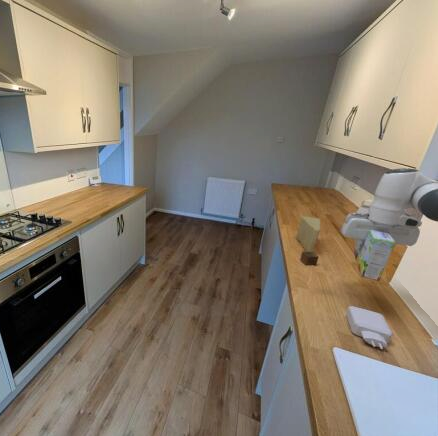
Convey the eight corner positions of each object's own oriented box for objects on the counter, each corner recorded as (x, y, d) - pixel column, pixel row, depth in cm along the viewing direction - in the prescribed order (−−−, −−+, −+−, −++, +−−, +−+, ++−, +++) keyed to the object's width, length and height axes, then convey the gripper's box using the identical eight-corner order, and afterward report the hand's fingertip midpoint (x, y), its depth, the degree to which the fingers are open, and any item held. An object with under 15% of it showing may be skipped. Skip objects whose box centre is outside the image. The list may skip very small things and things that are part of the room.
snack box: (351, 252, 99) (363, 218, 93) (369, 256, 96) (382, 221, 90) (359, 276, 82) (374, 237, 77) (380, 282, 79) (398, 241, 74)
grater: (354, 225, 167) (364, 198, 160) (373, 230, 159) (384, 201, 152) (348, 228, 162) (358, 200, 155) (367, 233, 154) (378, 204, 147)
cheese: (321, 257, 123) (329, 231, 118) (299, 253, 127) (306, 228, 122) (314, 241, 142) (321, 217, 137) (295, 237, 146) (301, 215, 141)
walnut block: (309, 260, 121) (312, 251, 119) (316, 265, 116) (318, 256, 114) (299, 260, 121) (302, 251, 119) (305, 265, 116) (308, 256, 114)
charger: (355, 347, 73) (345, 315, 85) (395, 360, 68) (378, 325, 81) (360, 335, 71) (349, 305, 83) (402, 348, 67) (383, 314, 79)
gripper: (351, 214, 83) (339, 249, 87) (429, 223, 76) (411, 260, 81) (344, 209, 88) (333, 242, 93) (416, 216, 81) (400, 252, 86)
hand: (370, 251), depth 87 cm, fingers closed on snack box, 6 cm apart
